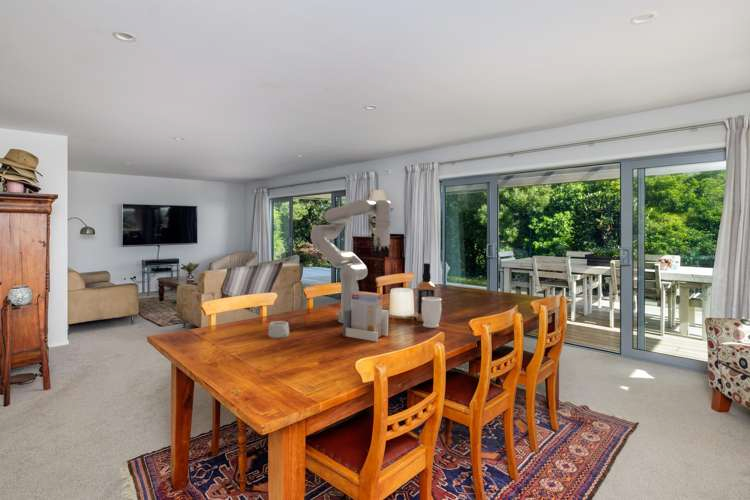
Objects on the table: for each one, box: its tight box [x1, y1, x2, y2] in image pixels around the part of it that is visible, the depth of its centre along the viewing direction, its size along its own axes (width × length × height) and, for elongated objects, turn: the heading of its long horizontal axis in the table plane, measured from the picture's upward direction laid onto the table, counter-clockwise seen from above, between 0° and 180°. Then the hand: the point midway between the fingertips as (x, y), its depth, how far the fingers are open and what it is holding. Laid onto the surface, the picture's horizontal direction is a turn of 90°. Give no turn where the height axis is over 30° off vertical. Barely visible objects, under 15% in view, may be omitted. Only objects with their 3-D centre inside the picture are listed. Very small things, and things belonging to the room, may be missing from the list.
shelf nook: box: [342, 309, 389, 342], centre depth 194 cm, size 18×12×12 cm, turn 63°
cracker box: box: [351, 290, 383, 339], centre depth 193 cm, size 14×6×21 cm, turn 60°
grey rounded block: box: [267, 320, 290, 339], centre depth 190 cm, size 12×10×6 cm
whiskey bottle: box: [415, 262, 436, 322], centre depth 229 cm, size 10×10×32 cm
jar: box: [421, 296, 442, 329], centre depth 214 cm, size 11×10×15 cm
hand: (382, 257), depth 208 cm, fingers open, 9 cm apart
